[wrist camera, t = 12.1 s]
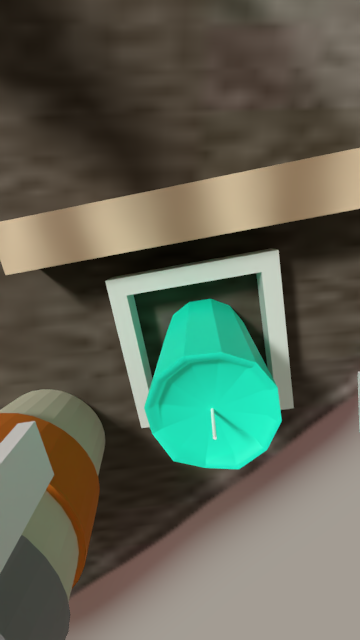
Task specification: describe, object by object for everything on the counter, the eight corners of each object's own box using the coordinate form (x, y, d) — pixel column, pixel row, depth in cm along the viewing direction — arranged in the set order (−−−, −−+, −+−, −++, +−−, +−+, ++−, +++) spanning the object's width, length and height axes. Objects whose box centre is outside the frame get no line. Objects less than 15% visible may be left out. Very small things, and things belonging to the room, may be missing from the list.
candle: (169, 294, 23) (141, 357, 11) (251, 302, 22) (309, 374, 11) (163, 369, 24) (133, 492, 13) (239, 377, 24) (279, 508, 13)
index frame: (145, 413, 25) (141, 428, 23) (112, 277, 22) (105, 281, 21) (286, 394, 24) (293, 408, 22) (271, 248, 21) (278, 249, 19)
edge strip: (37, 267, 23) (5, 275, 19) (25, 225, 22) (-12, 224, 18) (349, 209, 20) (384, 203, 17) (347, 160, 20) (384, 142, 16)
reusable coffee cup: (50, 338, 24) (-168, 496, 10) (156, 446, 26) (109, 707, 12) (-48, 425, 27) (-333, 651, 12) (56, 517, 29) (-82, 799, 14)
